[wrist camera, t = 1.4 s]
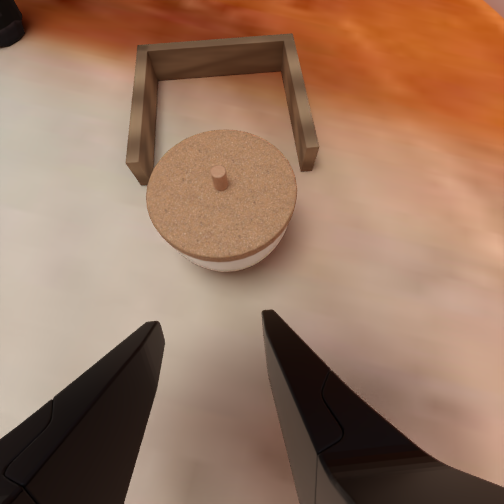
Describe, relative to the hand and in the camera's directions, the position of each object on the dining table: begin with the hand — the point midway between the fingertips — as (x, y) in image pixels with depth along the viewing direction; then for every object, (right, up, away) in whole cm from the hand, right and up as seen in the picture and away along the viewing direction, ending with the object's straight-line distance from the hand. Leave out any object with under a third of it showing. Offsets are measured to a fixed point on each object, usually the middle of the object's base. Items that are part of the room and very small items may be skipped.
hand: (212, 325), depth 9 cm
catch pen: (-2, +18, +21) cm, 28 cm away
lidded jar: (-1, +4, +16) cm, 17 cm away
